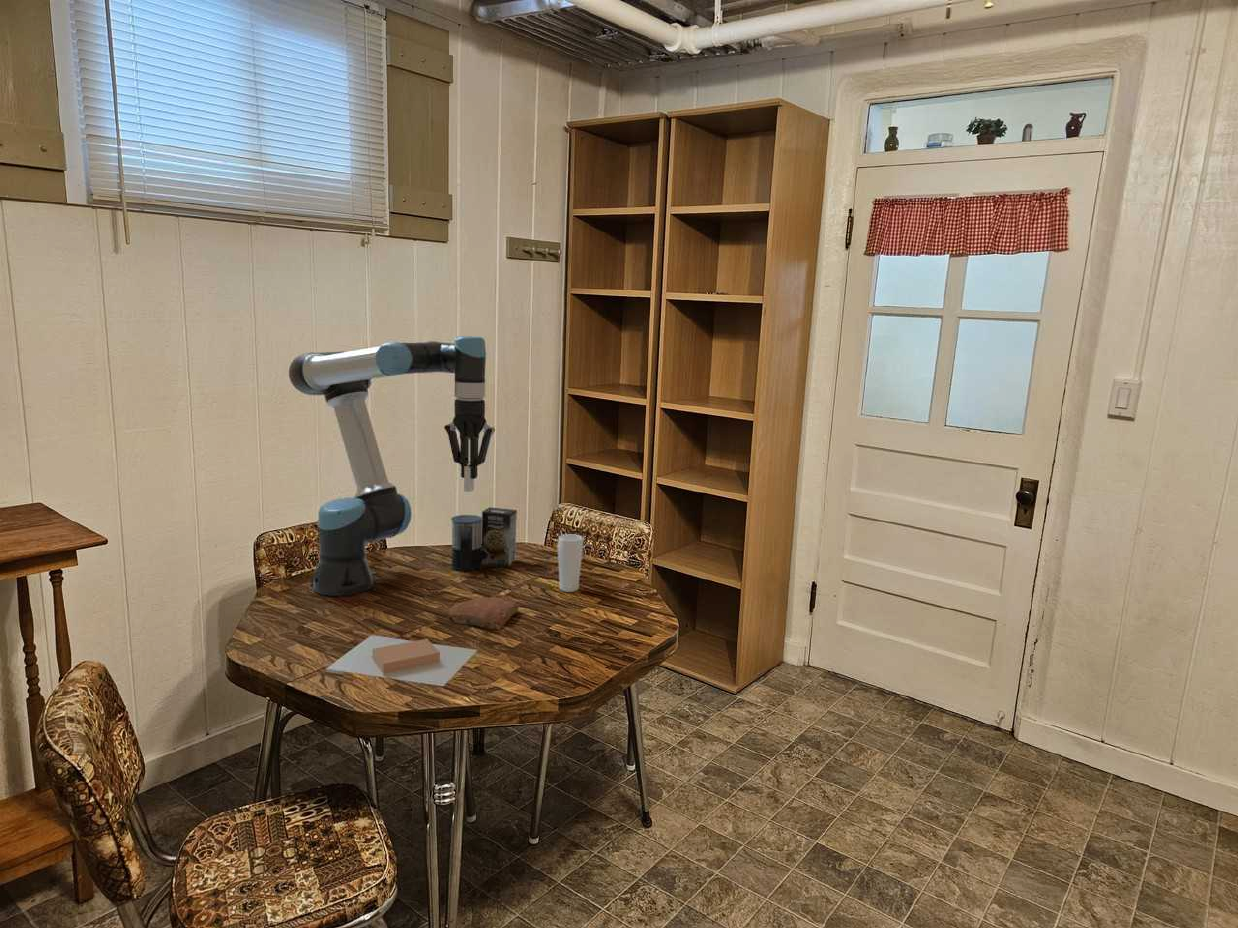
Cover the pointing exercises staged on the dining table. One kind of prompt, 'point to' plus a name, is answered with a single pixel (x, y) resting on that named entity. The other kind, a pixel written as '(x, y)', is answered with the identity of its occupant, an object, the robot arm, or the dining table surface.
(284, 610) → the dining table surface
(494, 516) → the dark cardboard box
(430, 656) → the terracotta tile
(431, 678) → the grey mat
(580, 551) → the drinking glass
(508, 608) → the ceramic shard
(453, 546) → the milk frother
